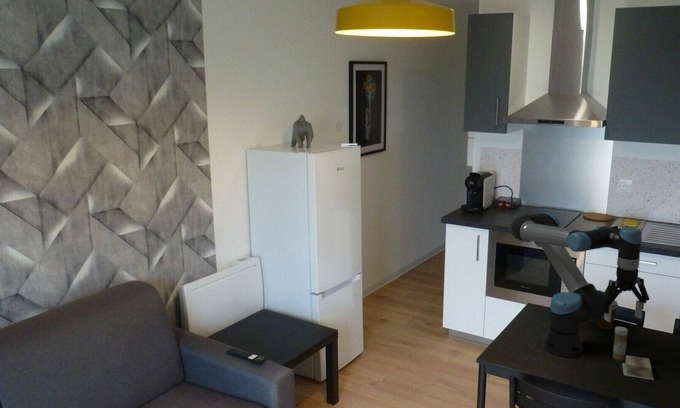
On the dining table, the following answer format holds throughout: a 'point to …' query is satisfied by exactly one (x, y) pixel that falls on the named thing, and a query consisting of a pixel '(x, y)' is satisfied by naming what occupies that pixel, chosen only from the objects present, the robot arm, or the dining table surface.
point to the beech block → (638, 366)
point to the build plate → (633, 375)
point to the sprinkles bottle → (620, 343)
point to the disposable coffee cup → (608, 325)
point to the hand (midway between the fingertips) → (622, 319)
